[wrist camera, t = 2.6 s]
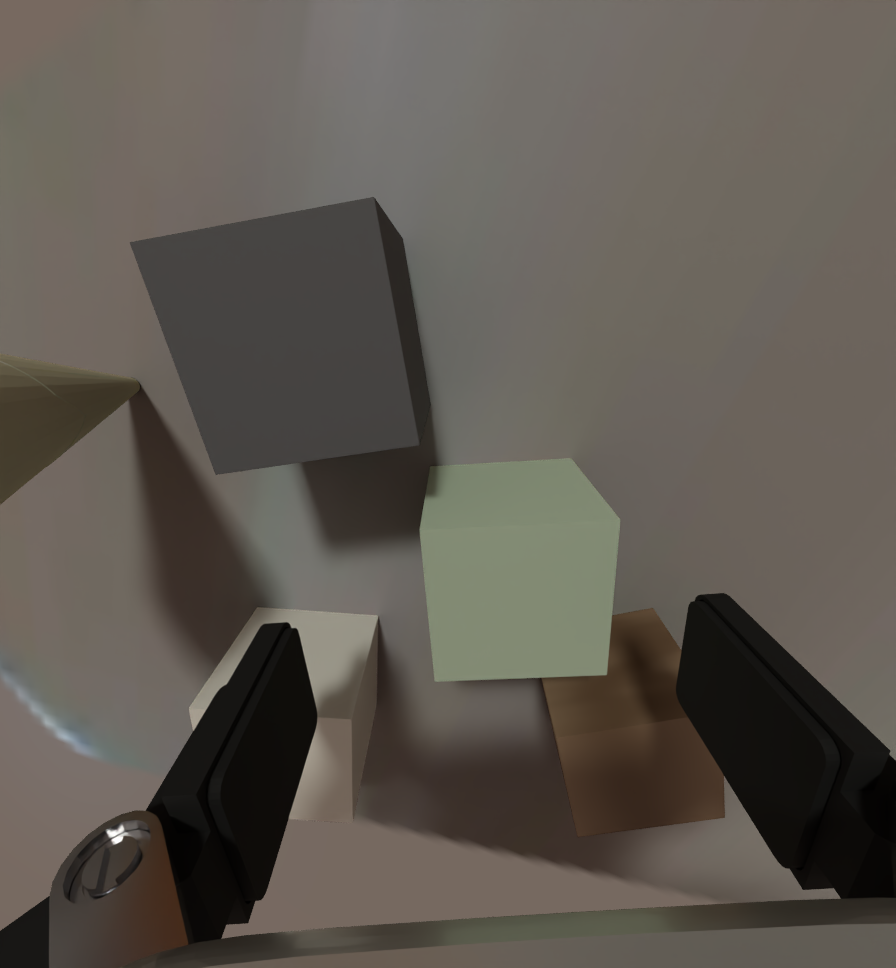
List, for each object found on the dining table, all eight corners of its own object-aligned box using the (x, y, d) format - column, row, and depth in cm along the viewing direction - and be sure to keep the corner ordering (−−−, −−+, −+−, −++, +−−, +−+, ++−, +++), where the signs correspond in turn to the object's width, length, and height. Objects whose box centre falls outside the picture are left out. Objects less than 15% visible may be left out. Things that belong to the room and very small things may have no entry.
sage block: (570, 457, 15) (620, 519, 11) (565, 577, 17) (606, 675, 13) (430, 465, 16) (419, 530, 11) (440, 583, 17) (434, 682, 13)
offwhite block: (378, 614, 18) (351, 719, 13) (376, 703, 20) (352, 823, 15) (258, 605, 18) (188, 708, 13) (267, 696, 20) (209, 813, 15)
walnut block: (652, 606, 18) (722, 712, 13) (660, 696, 19) (724, 817, 15) (530, 629, 18) (555, 737, 14) (549, 714, 20) (577, 836, 15)
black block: (402, 239, 13) (374, 197, 8) (430, 404, 15) (419, 445, 10) (243, 267, 13) (129, 242, 9) (289, 425, 15) (215, 474, 10)
